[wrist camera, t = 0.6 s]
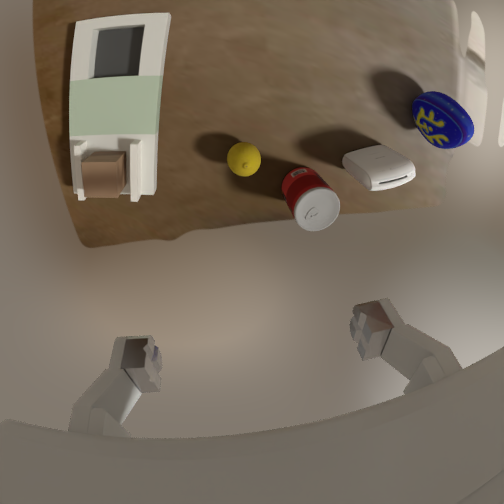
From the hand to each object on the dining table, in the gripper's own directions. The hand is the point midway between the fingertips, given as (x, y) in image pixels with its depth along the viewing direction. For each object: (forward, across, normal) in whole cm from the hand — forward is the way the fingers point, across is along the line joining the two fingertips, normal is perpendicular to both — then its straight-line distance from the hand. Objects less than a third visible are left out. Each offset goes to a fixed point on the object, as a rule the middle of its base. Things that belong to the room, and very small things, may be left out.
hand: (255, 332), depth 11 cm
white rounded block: (+44, -27, +8) cm, 52 cm away
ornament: (+44, -41, -3) cm, 60 cm away
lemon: (+44, -3, +5) cm, 44 cm away
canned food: (+44, -14, +13) cm, 48 cm away
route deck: (+44, +18, -8) cm, 48 cm away
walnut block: (+41, +20, +3) cm, 46 cm away
